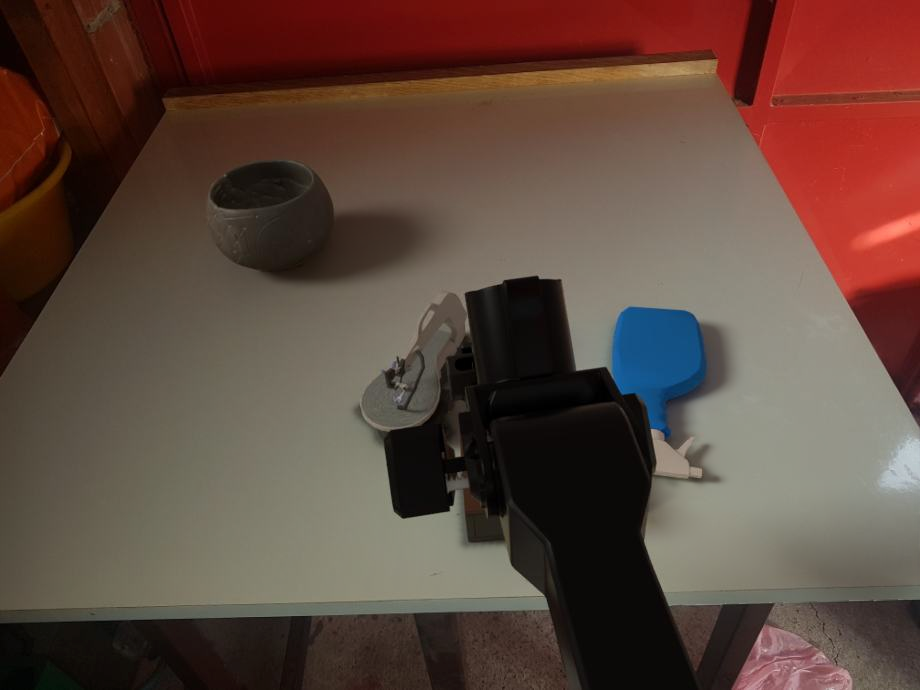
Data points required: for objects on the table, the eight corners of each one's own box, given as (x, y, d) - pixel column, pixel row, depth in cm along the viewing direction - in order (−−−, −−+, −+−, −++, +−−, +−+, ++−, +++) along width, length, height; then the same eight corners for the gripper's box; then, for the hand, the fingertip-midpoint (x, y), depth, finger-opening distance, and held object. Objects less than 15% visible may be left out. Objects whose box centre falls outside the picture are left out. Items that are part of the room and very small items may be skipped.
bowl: (211, 246, 109) (183, 174, 101) (318, 210, 115) (301, 139, 106) (241, 308, 98) (213, 232, 89) (359, 264, 103) (343, 190, 94)
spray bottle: (614, 303, 88) (608, 459, 71) (704, 309, 86) (719, 471, 69) (613, 320, 90) (605, 476, 73) (700, 326, 88) (713, 488, 71)
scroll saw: (408, 262, 85) (495, 280, 81) (417, 326, 92) (498, 345, 88) (323, 373, 72) (422, 401, 68) (341, 437, 79) (432, 465, 75)
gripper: (658, 308, 44) (600, 339, 59) (362, 351, 43) (382, 371, 58) (691, 486, 42) (623, 470, 58) (388, 534, 41) (401, 505, 57)
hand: (507, 450), depth 58 cm, fingers open, 9 cm apart
